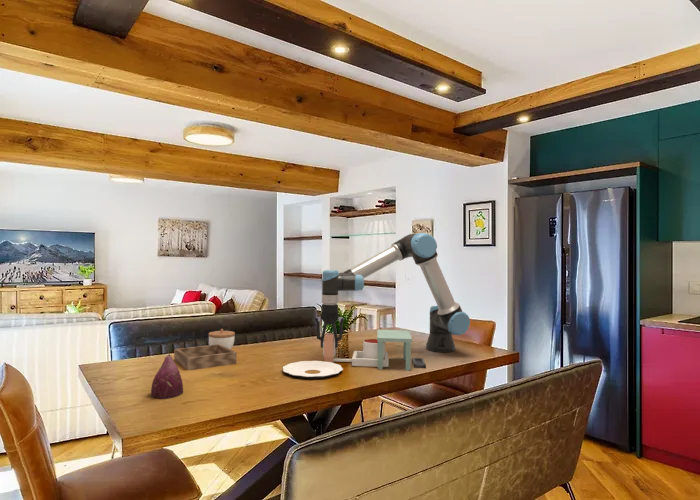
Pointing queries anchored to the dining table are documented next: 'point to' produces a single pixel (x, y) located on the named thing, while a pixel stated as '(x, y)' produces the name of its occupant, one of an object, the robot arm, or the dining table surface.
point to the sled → (356, 359)
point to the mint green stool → (394, 337)
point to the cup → (371, 349)
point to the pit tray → (418, 363)
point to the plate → (302, 366)
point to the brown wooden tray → (204, 356)
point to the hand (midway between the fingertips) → (329, 354)
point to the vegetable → (167, 381)
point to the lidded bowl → (222, 338)
